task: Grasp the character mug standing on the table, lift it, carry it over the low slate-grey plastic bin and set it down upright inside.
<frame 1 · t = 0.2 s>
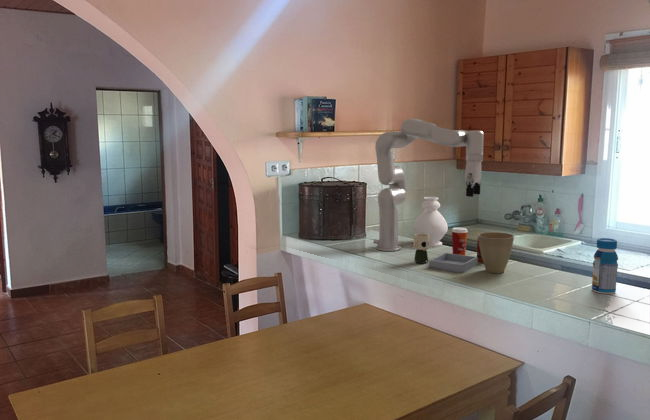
hand: (473, 195, 255), 31 cm above the table, tool pointing down, fingers open, 9 cm apart
character mug: (421, 263, 257), on the table
canned food: (485, 261, 259), on the table
decorative vase: (430, 244, 298), on the table
beverage bottle: (603, 291, 210), on the table
grey bin: (453, 266, 250), on the table
paper cup: (458, 257, 267), on the table
plant pot: (494, 271, 241), on the table
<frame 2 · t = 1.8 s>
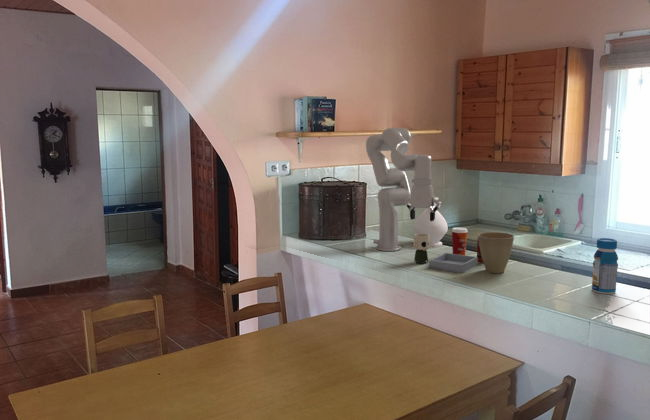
hand: (422, 219, 254), 20 cm above the table, tool pointing down, fingers open, 9 cm apart
nothing on the table moved.
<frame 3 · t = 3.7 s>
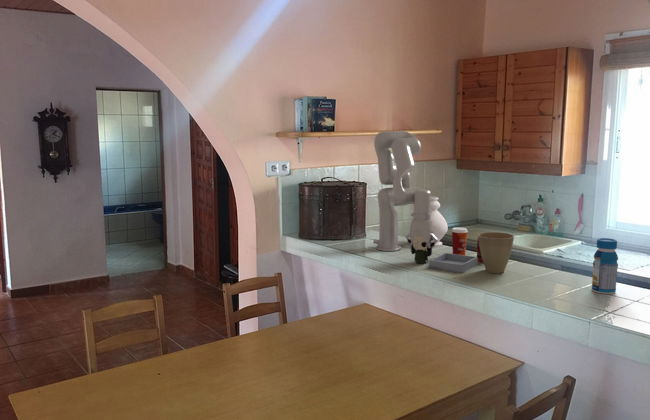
hand: (421, 254, 256), 4 cm above the table, tool pointing down, fingers closed on character mug, 7 cm apart
character mug: (421, 263, 257), on the table, touching gripper
everything else where it was.
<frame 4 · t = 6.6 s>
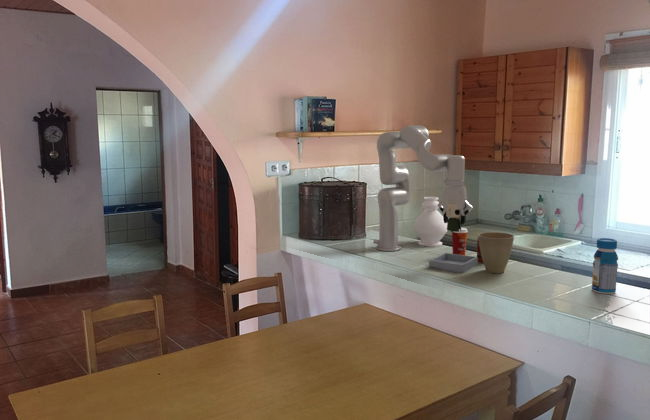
hand: (454, 223, 247), 20 cm above the table, tool pointing down, fingers closed on character mug, 7 cm apart
character mug: (453, 232, 248), point 16 cm above the table, touching gripper
everything else where it was.
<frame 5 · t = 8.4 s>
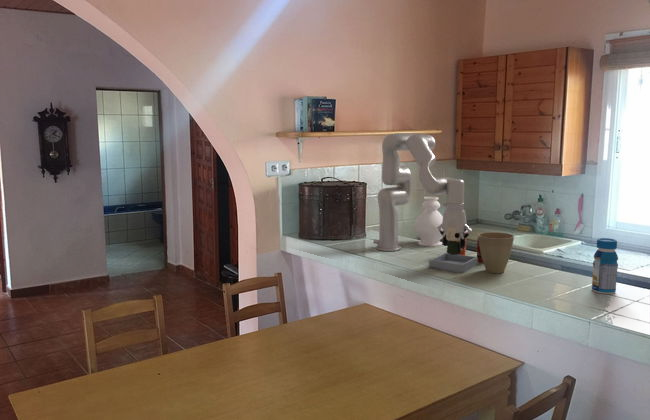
hand: (454, 246, 248), 9 cm above the table, tool pointing down, fingers closed on character mug, 7 cm apart
character mug: (453, 254, 249), point 5 cm above the table, touching gripper
everything else where it was.
when the fingers open (7 cm above the table, at t = 9.6 s): character mug drops 2 cm, resting on grey bin.
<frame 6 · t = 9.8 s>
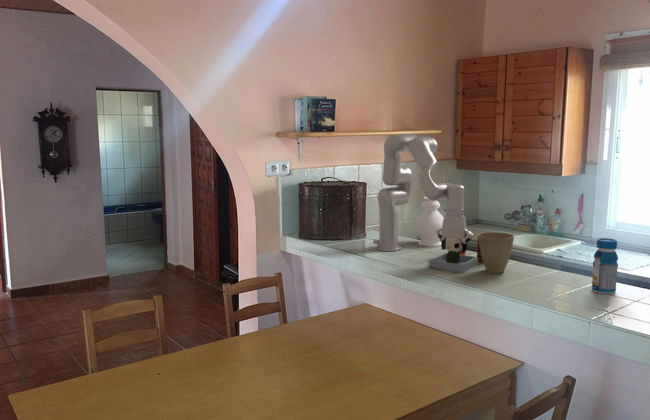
hand: (453, 250, 249), 7 cm above the table, tool pointing down, fingers open, 9 cm apart
character mug: (453, 264, 250), point 1 cm above the table, touching grey bin
everything else where it was.
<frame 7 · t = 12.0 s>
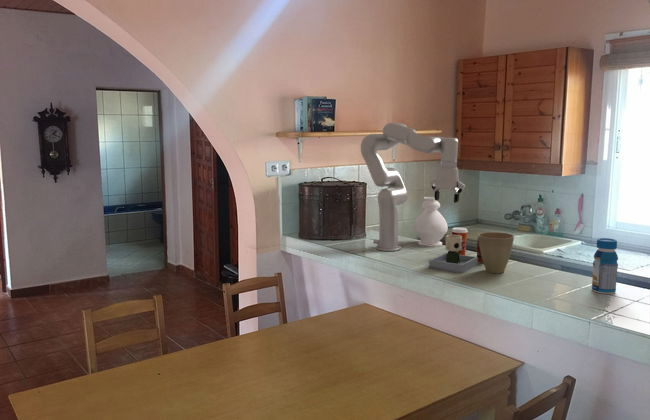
hand: (446, 201, 260), 28 cm above the table, tool pointing down, fingers open, 9 cm apart
nothing on the table moved.
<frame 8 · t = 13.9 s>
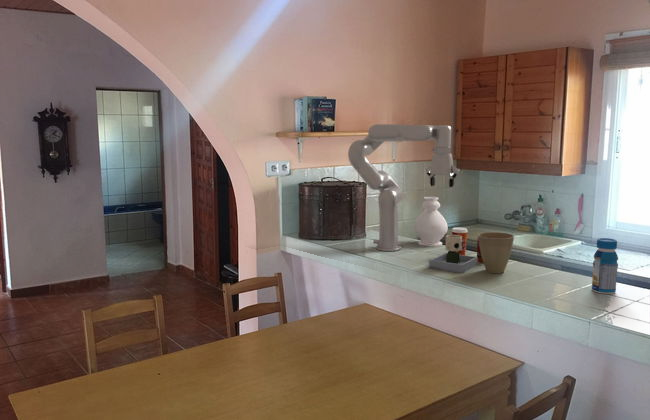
hand: (441, 186, 271), 33 cm above the table, tool pointing down, fingers open, 9 cm apart
nothing on the table moved.
at the end: character mug inside the target area on the grey bin (0.2 cm from its centre), point 0.6 cm above the grey bin's base; character mug tilted 0°; the gripper is holding nothing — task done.
